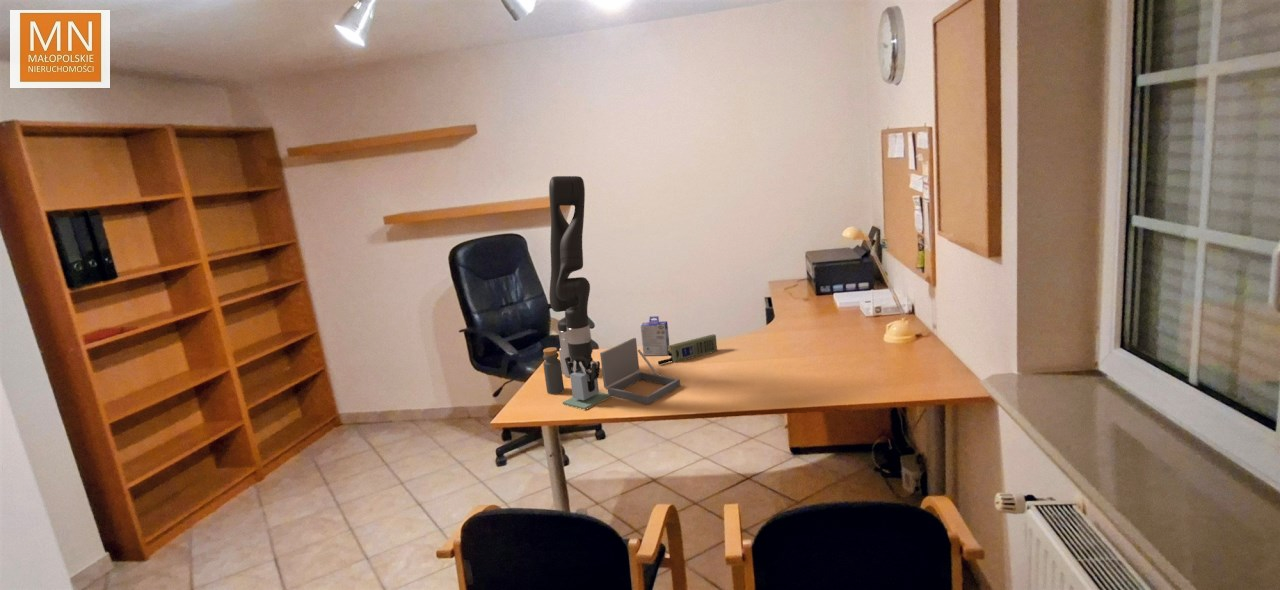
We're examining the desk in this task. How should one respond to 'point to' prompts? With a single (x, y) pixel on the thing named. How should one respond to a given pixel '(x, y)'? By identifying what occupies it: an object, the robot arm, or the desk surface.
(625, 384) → the case
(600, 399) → the mat
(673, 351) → the handheld radio
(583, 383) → the block
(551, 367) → the bottle
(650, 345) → the ink cartridge box
